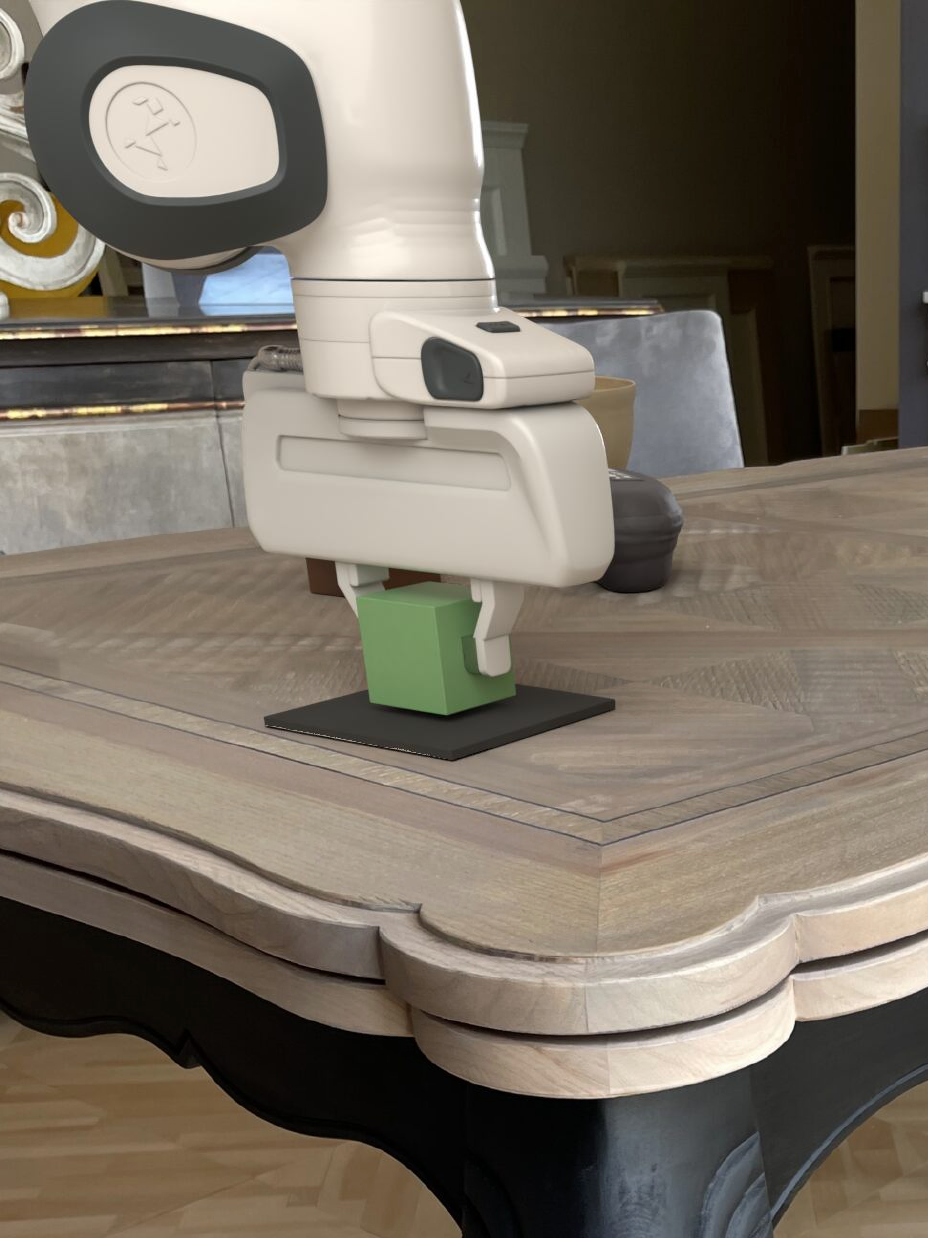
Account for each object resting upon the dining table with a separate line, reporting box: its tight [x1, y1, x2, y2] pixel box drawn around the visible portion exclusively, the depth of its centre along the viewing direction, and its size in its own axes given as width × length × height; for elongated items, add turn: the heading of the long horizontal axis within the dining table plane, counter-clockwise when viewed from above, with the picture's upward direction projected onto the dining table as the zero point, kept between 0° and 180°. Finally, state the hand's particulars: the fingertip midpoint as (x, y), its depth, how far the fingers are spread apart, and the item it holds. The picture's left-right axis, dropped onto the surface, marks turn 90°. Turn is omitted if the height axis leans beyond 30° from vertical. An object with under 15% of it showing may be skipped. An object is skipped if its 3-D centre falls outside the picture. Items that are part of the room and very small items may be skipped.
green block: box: [356, 581, 516, 715], centre depth 87 cm, size 5×5×5 cm
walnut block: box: [304, 557, 442, 598], centre depth 118 cm, size 6×6×6 cm
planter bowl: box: [572, 375, 637, 470], centre depth 139 cm, size 16×16×11 cm
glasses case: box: [595, 467, 684, 593], centre depth 124 cm, size 18×10×8 cm, turn 24°
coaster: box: [263, 683, 617, 761], centre depth 89 cm, size 12×12×1 cm
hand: (439, 666), depth 88 cm, fingers closed on green block, 5 cm apart
